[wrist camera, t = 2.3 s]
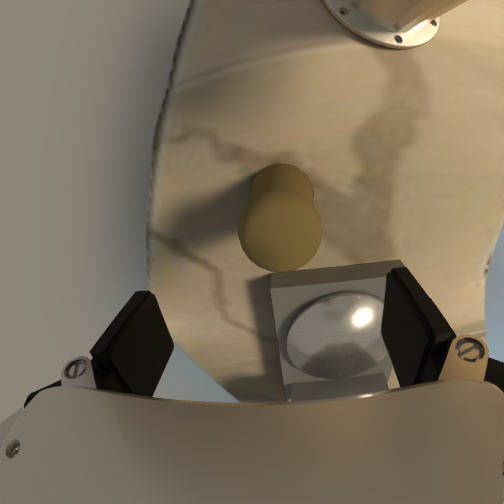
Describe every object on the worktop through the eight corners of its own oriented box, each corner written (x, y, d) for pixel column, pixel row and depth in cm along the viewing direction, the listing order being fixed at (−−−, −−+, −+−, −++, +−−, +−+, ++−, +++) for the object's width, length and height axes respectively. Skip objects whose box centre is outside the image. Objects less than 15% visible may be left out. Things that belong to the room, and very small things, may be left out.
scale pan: (281, 297, 27) (281, 303, 26) (400, 284, 25) (404, 289, 24) (290, 376, 31) (290, 382, 30) (385, 365, 29) (387, 371, 29)
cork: (238, 178, 25) (208, 214, 15) (299, 153, 24) (311, 171, 14) (264, 234, 27) (253, 299, 18) (323, 212, 26) (345, 268, 16)
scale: (271, 273, 29) (262, 357, 18) (400, 259, 27) (448, 332, 16) (287, 391, 37) (284, 462, 27) (379, 381, 35) (394, 448, 24)
